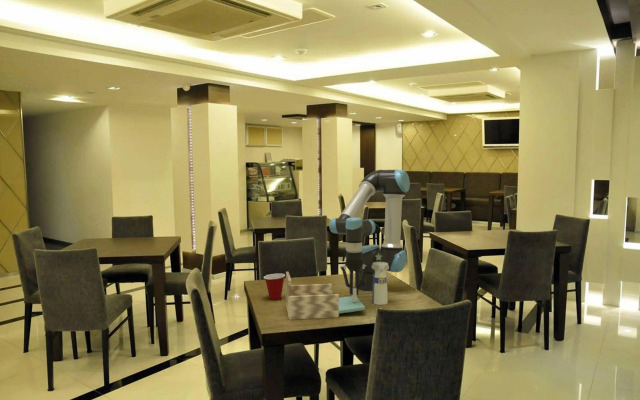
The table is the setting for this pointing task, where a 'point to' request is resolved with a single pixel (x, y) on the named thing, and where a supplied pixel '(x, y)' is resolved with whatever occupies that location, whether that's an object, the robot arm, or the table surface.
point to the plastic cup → (274, 285)
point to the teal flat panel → (350, 305)
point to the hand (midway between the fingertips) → (354, 301)
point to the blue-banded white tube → (379, 282)
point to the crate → (310, 301)
